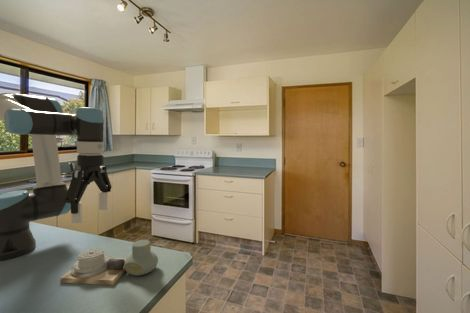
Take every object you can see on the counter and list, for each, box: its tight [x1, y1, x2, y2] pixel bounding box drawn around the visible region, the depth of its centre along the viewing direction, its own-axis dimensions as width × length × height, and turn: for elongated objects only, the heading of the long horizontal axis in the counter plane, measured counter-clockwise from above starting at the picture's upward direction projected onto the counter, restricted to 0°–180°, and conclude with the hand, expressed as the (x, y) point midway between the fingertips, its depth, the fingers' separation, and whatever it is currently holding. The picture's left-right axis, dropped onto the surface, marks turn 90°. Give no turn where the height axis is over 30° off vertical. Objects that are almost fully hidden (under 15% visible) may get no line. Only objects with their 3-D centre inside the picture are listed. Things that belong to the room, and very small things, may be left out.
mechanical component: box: [73, 248, 109, 273], centre depth 78 cm, size 10×4×10 cm
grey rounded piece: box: [124, 239, 159, 277], centre depth 80 cm, size 11×8×10 cm
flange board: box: [59, 257, 127, 286], centre depth 78 cm, size 17×13×5 cm
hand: (91, 215), depth 79 cm, fingers open, 13 cm apart
